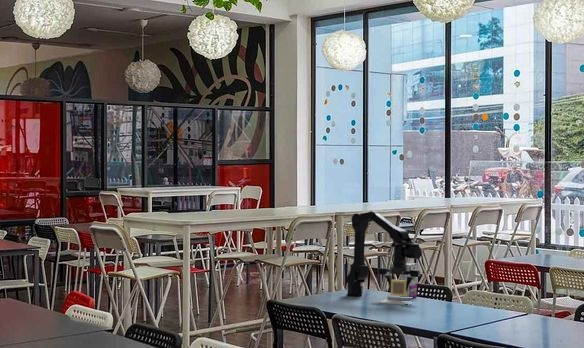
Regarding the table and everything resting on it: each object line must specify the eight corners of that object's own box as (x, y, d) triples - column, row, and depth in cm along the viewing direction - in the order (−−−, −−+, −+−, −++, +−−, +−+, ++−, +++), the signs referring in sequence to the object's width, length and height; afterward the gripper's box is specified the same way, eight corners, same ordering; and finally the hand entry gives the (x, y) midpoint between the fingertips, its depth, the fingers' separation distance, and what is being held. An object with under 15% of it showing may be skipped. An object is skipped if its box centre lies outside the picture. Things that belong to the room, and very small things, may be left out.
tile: (390, 295, 401) (391, 280, 401) (391, 294, 403) (392, 279, 403) (405, 296, 399) (406, 281, 399) (406, 295, 401) (407, 280, 401)
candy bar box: (407, 296, 424) (408, 262, 424) (417, 297, 422) (418, 263, 422) (399, 298, 414) (400, 264, 414) (409, 299, 412) (410, 264, 412)
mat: (379, 302, 395) (379, 298, 395) (386, 299, 408) (386, 295, 408) (409, 305, 390) (409, 301, 390) (415, 301, 404) (415, 297, 404)
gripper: (376, 257, 397) (374, 291, 397) (416, 259, 391) (415, 294, 391) (381, 255, 407) (380, 288, 407) (421, 258, 401) (420, 291, 401)
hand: (398, 291), depth 401 cm, fingers closed on tile, 7 cm apart
